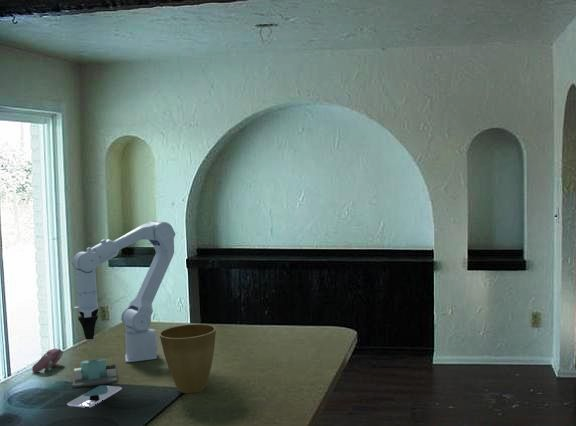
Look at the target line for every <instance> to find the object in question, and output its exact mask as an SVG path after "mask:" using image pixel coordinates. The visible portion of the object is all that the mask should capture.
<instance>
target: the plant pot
mask: <svg viewBox="0 0 576 426" xmlns="http://www.w3.org/2000/svg"><path fill="white" fill-rule="evenodd" d="M216 331H217V328H216V327H215V326H214V325H213V324H212V325H211V324H204V323H203V324H202V323H195V324H194V323H193V324H181V325H176V326H172V327H168V328H166V329H163V330H161V331H160V332H159V338H160V342H161V348H162V351H163V355H164V358H165V362H166V365H167V367H168V370H169V373H170V375H171V378H172V379H173V383H174V385H175V387H176V389H177V390H178V392H179V393H183V394H194V393H199V392H201V391H203V390H205V389H206V388H207V384H208V381H209V377H210V374H211V369H212V366H213V365H212V364H213V359H214V354H215V347H216V345H215V344H216V334H217V333H216Z"/></svg>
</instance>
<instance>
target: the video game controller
mask: <svg viewBox="0 0 576 426" xmlns="http://www.w3.org/2000/svg"><path fill="white" fill-rule="evenodd" d="M63 354H64V351H63V350H62V349H59V348H58V349H57V347H56V348H51V349H48V351H46V353H44V354H43V355H42V357H41V358H39V360H38V361H37V362H36V363H35V364H33V365H32V368H31V369H32V372H33V373H39V372H41V371H43V370H44V369H45V370H46V371H48V370H49V369H51V367H52V368H54V367H56V365H57V364H58V362H59V361H60V360H61V359H62V358H63Z"/></svg>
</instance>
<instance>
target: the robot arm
mask: <svg viewBox="0 0 576 426" xmlns="http://www.w3.org/2000/svg"><path fill="white" fill-rule="evenodd" d="M175 237H176V232H175V230H174V228H173V226H172V225H171V224H170V223H169V222H166V221H162V222H161V221H155V220H152V221H148V222H147V223H143V224H141V225H139V226H137V227H136V228H133V229H132V230H131V231H129V232H127V233H125V234H124V235H122V236H120V237H118V238H116V239H114V240H111V239H101V240H100V243H98V244H96V245H94V246H92V247H90V246H89V247H87V248H86V251H79V252H77V253H76V254H75V256H74V255H73V259H72V261H71V264H72V267H73V269H75V283H76V285H75V286H76V295H77V297H76V298H77V306H73V310H74V311H79V312H78V313H79V315H80V316H78V317H77V321H79V323H80V325H81V327H82V331H83V334H84V338H85V340H93V339H94V338H95V329H96V323H97V320H98V318H99V315H98V312H99V304H98V303H99V302H98V289H97V275H96V269H97V268H98V266H101V265H102V264H104V263H106V262H108V261H109V260H111V259H113V258H115V257H117V256H118V255H119V254H118V253H119V251H120V250H122V249H125V248H126V247H129V246H131V245H133V244H135V243H137V242H139V241H142V240H146V241H149V243H151V244H152V246H153V249H154V250H155V255H154V256H153V259H152V262H151V263H150V265H149V268H148V270H147V272H146V275H145V276H144V279H143V281H142V283H141V286H140V288H139V290H138V292H137V294H136V297H135V298H134V299H132V301H131V302H130V303H129V305H128V306H127V307H126V308H125V309H124V310H123V312H122V313H121V319H120V320H121V322H122V324H123V325H124V326H125V328H124V334H125V351H126V352H125V353H126V354H125V355H124V359H125V363H132V362H133V363H134V362H142V361H150V360H157V358H158V356H157V355H158V354H157V353H158V345H157V342H156V341H157V340H156V339H157V338H156V337H157V336H156V330H155V328H149V327H150V326H151V322H152V314H153V311H154V310H153V309H154V308H153V305H152V304H153V302H154V301H155V297H156V295H157V293H158V291H159V288H160V287H161V285H162V281H163V280H164V277H165V275H166V273H167V271H168V269H169V266H170V263H171V262H172V259H173V257H174V255H175Z"/></svg>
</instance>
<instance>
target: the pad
mask: <svg viewBox="0 0 576 426" xmlns="http://www.w3.org/2000/svg"><path fill="white" fill-rule="evenodd" d="M117 375H118V374H117V368H116V369H108V370H107V376H106V377H103V378H96V379H88V380H84V379H82V376H81V374H74V373H73V378H72V385H71V386H72V389H74V388H81V387H82V386H83V387H90V386H100V385H106V384H114V383H118V376H117ZM83 387H82V388H83Z"/></svg>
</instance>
